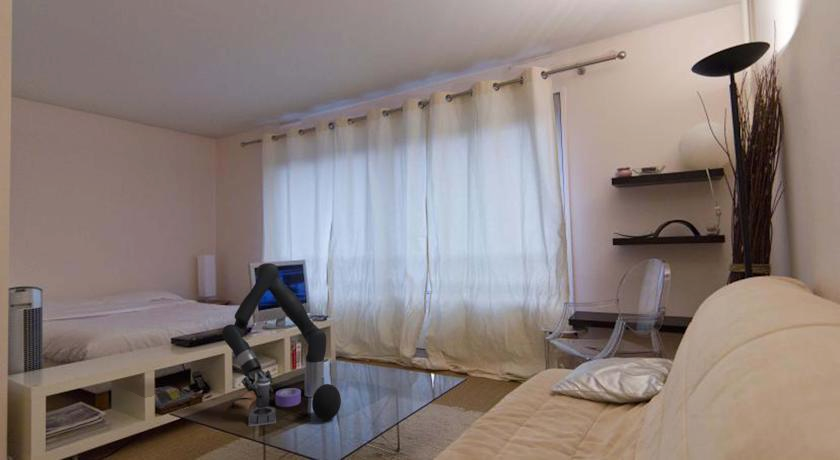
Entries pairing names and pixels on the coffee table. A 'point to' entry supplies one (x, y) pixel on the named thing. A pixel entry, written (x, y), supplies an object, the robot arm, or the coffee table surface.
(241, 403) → the sunglasses case
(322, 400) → the decorative egg
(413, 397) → the coffee table surface
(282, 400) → the tape roll
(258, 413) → the mount
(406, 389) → the coffee table surface
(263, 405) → the lens
